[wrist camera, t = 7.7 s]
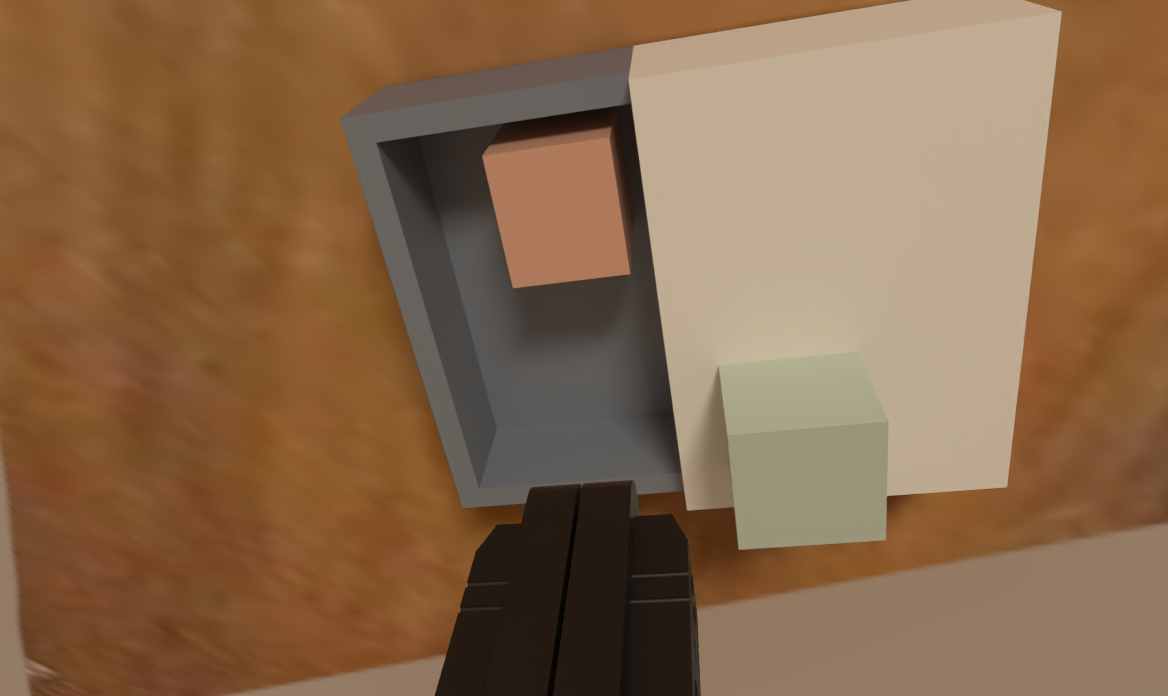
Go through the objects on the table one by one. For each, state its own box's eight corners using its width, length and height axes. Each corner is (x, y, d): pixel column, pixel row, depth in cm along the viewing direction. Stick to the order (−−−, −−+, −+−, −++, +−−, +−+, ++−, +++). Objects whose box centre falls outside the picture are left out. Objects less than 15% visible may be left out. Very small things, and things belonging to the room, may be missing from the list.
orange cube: (609, 137, 21) (482, 155, 22) (630, 274, 23) (513, 288, 24) (616, 102, 24) (506, 119, 25) (633, 223, 26) (531, 237, 27)
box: (633, 45, 24) (629, 71, 21) (682, 423, 31) (686, 490, 27) (383, 86, 25) (340, 118, 22) (483, 441, 32) (462, 508, 29)
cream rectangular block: (984, -12, 22) (1061, 11, 18) (955, 398, 29) (1006, 486, 25) (633, 45, 24) (628, 80, 20) (682, 423, 31) (686, 510, 26)
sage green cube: (858, 351, 23) (888, 420, 20) (858, 461, 25) (886, 540, 22) (718, 365, 24) (727, 435, 21) (728, 471, 25) (738, 549, 22)
